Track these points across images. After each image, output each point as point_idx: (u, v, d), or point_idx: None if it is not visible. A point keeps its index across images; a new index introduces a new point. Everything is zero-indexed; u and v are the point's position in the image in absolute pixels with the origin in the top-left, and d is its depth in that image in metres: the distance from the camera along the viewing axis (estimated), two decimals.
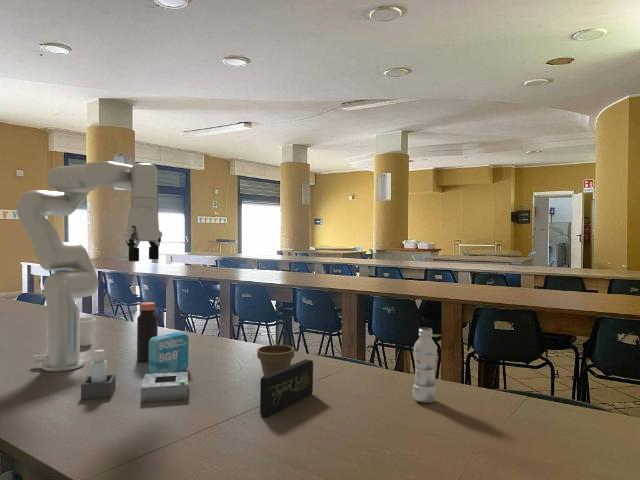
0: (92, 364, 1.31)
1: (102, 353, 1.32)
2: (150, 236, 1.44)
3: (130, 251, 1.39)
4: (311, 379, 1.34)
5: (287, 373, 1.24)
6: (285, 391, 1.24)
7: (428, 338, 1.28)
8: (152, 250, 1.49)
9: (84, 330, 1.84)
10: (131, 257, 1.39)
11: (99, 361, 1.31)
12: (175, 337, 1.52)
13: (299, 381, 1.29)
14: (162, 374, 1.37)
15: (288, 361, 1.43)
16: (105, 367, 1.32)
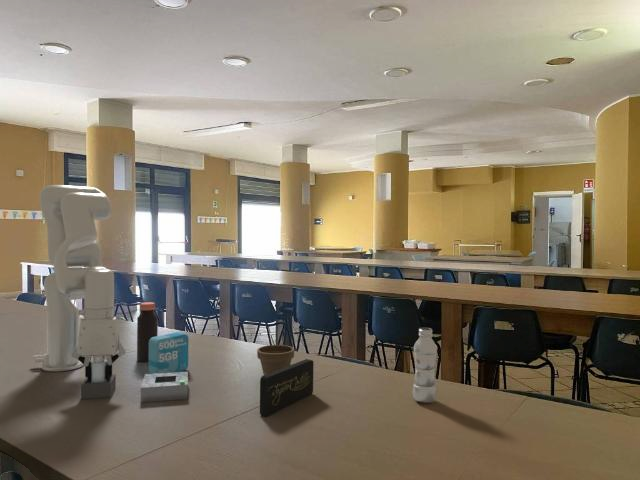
0: (92, 364, 1.31)
1: None
2: None
3: (111, 368, 1.33)
4: (311, 379, 1.34)
5: (287, 372, 1.24)
6: (285, 391, 1.24)
7: (428, 338, 1.28)
8: None
9: None
10: (111, 373, 1.33)
11: (99, 361, 1.31)
12: (175, 337, 1.52)
13: (300, 381, 1.29)
14: (162, 374, 1.37)
15: (288, 361, 1.43)
16: (105, 367, 1.32)
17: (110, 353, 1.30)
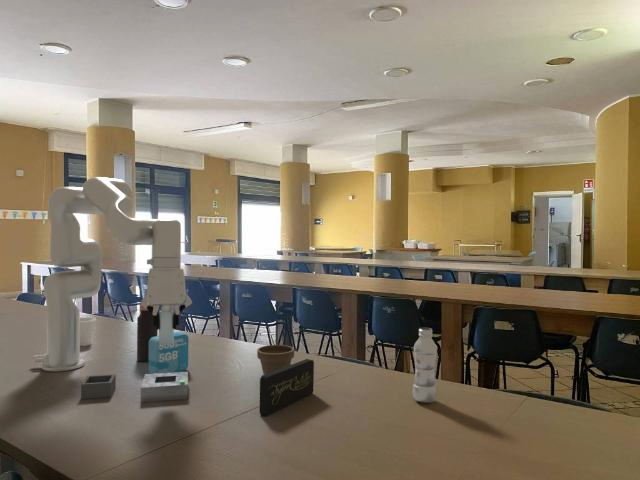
0: (160, 313, 1.31)
1: None
2: None
3: (178, 318, 1.33)
4: (312, 379, 1.34)
5: (287, 372, 1.25)
6: (285, 391, 1.24)
7: (428, 338, 1.28)
8: None
9: (84, 330, 1.84)
10: (178, 324, 1.34)
11: (167, 310, 1.31)
12: (175, 337, 1.52)
13: (300, 381, 1.30)
14: (162, 374, 1.37)
15: (288, 361, 1.43)
16: None
17: (178, 302, 1.31)
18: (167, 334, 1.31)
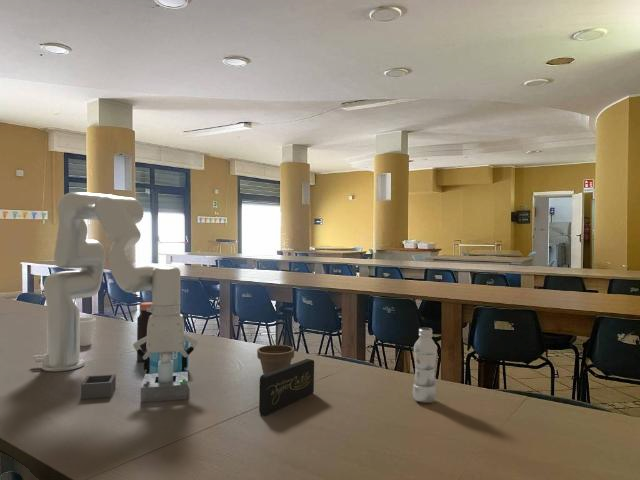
0: (160, 364, 1.31)
1: (169, 353, 1.32)
2: None
3: (186, 360, 1.34)
4: (312, 378, 1.34)
5: (286, 372, 1.25)
6: (285, 390, 1.25)
7: (428, 338, 1.28)
8: (149, 362, 1.32)
9: (84, 330, 1.84)
10: (186, 366, 1.35)
11: (166, 361, 1.32)
12: None
13: (300, 380, 1.30)
14: None
15: (288, 361, 1.43)
16: (172, 367, 1.33)
17: (178, 350, 1.31)
18: None
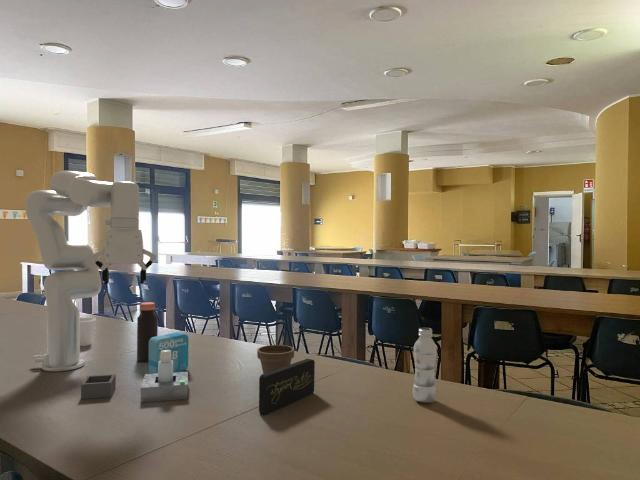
0: (160, 364, 1.31)
1: (169, 353, 1.32)
2: None
3: (145, 273, 1.38)
4: (312, 378, 1.35)
5: (286, 371, 1.25)
6: (285, 390, 1.25)
7: (428, 338, 1.28)
8: (107, 274, 1.36)
9: (84, 330, 1.84)
10: (145, 279, 1.39)
11: (166, 361, 1.32)
12: (175, 337, 1.52)
13: (300, 380, 1.30)
14: None
15: (288, 361, 1.43)
16: (172, 367, 1.33)
17: (135, 262, 1.35)
18: None
